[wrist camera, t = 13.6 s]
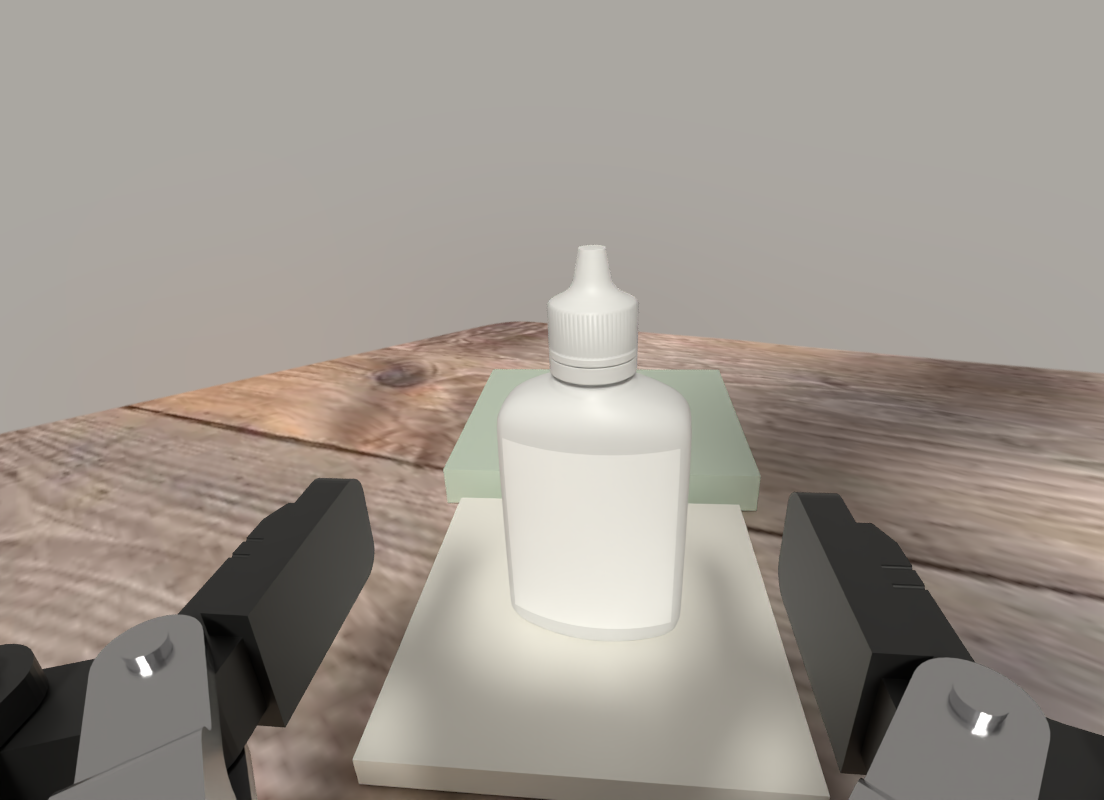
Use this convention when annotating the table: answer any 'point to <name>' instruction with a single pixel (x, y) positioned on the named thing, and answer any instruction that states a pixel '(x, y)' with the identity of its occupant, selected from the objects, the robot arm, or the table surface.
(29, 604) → the table surface
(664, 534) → the eye dropper bottle
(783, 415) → the table surface
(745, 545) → the tile
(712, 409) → the holder
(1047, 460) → the table surface
